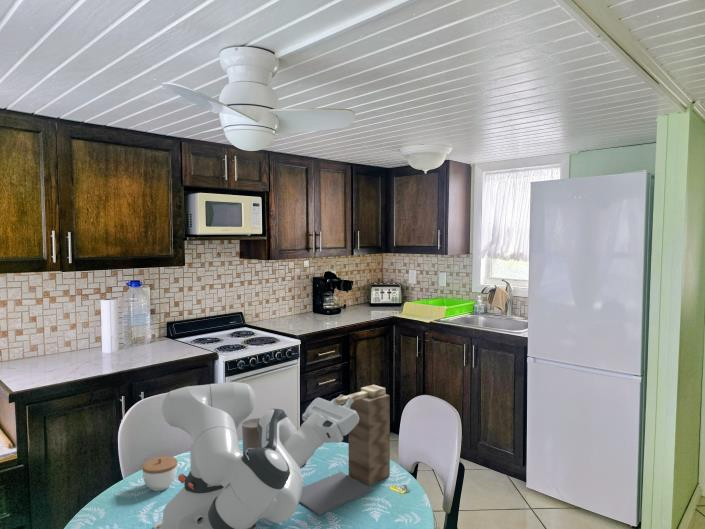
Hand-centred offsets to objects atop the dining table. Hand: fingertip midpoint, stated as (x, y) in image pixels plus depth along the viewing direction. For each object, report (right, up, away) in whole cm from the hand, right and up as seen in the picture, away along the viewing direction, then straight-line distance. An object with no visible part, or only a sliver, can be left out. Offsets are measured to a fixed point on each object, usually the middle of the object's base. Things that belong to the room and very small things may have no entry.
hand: (347, 397), depth 157 cm
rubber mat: (-5, -29, -4) cm, 30 cm away
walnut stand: (+7, -29, +7) cm, 31 cm away
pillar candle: (-34, -29, +21) cm, 50 cm away
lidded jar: (-62, -30, 0) cm, 68 cm away
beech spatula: (+4, -1, +4) cm, 6 cm away
